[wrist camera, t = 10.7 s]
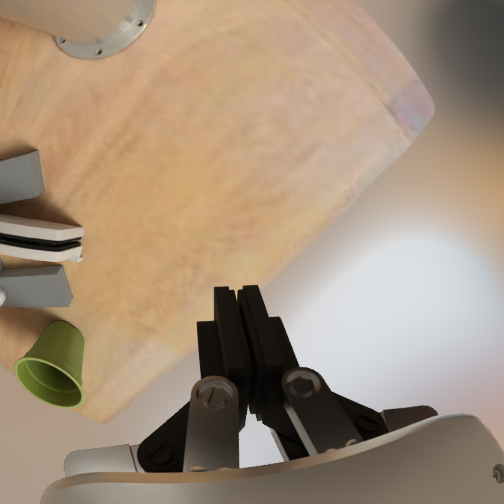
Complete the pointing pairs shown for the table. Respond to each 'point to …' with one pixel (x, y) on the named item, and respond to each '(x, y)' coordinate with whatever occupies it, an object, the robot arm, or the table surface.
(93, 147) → the table surface
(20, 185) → the gray u-shaped block
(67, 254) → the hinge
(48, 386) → the plant pot
